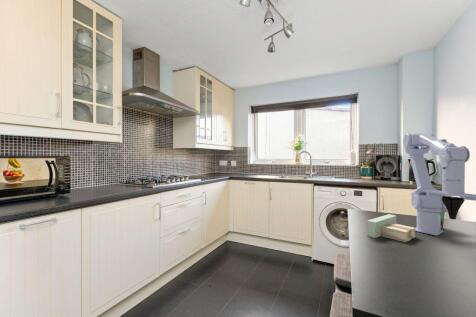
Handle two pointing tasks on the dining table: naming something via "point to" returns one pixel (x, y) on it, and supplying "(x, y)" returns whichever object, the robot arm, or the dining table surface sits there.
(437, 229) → the robot arm
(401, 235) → the maple block
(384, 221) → the sage board
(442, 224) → the food container
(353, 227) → the dining table surface
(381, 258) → the dining table surface
